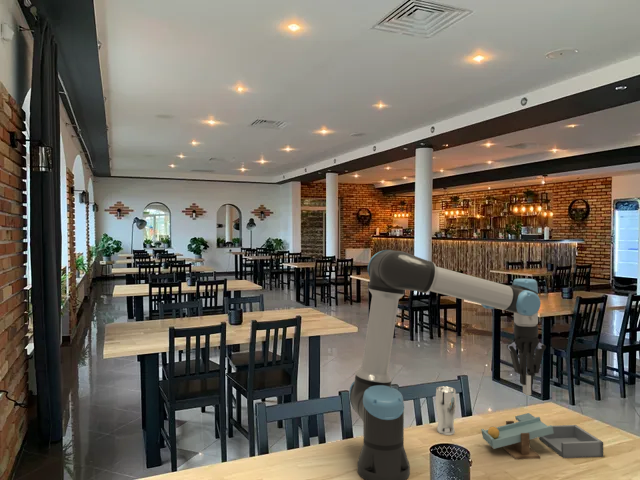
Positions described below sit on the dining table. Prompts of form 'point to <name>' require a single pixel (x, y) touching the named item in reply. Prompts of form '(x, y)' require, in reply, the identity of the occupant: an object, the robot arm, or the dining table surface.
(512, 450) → the fulcrum
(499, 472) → the dining table surface
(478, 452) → the dining table surface
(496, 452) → the dining table surface
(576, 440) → the grey shallow open box
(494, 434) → the ball
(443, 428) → the beer glass
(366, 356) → the robot arm
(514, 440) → the lever
